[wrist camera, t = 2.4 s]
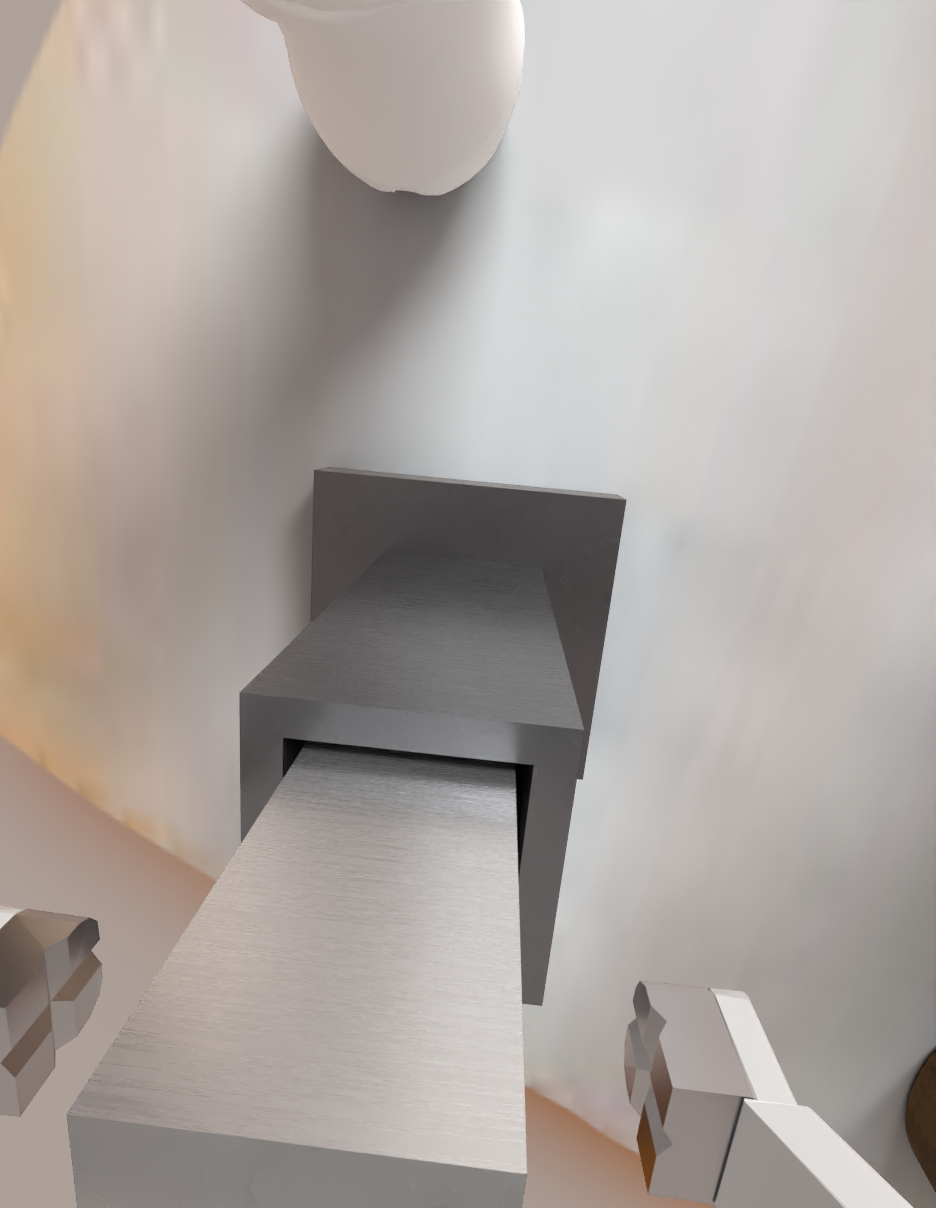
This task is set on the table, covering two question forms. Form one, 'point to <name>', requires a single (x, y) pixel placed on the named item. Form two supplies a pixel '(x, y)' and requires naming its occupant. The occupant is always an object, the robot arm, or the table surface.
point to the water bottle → (405, 83)
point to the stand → (450, 650)
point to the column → (332, 1008)
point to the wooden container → (924, 1118)
